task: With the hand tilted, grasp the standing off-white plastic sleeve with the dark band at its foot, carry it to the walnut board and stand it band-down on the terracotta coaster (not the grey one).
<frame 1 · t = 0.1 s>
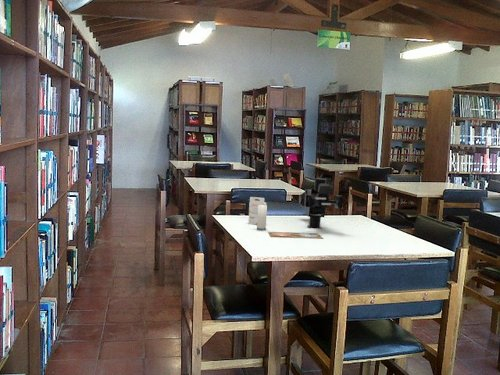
hand: (327, 203, 245), 17 cm above the table, tool horizontal, fingers open, 9 cm apart
terracotta coaster: (281, 234, 245), resting on walnut board
grey coaster: (308, 235, 246), resting on walnut board
walnut board: (294, 236, 245), on the table
ink cartridge box: (256, 224, 275), on the table
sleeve: (261, 231, 255), on the table
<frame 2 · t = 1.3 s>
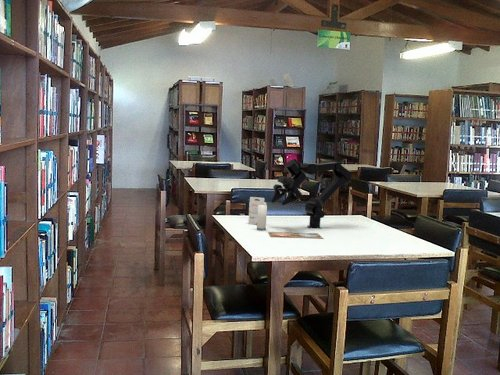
hand: (276, 203, 257), 14 cm above the table, tool tilted 45°, fingers open, 9 cm apart
nothing on the table moved.
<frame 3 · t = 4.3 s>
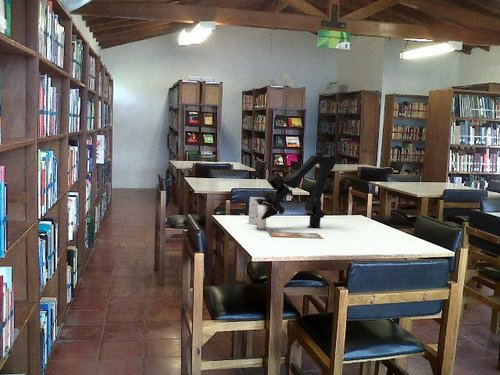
hand: (259, 218, 253), 7 cm above the table, tool tilted 45°, fingers closed on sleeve, 4 cm apart
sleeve: (261, 231, 255), on the table, touching gripper
everything else where it was.
when the fingers open (9 cm above the table, at t = 8.8 s): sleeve drops 1 cm, resting on terracotta coaster.
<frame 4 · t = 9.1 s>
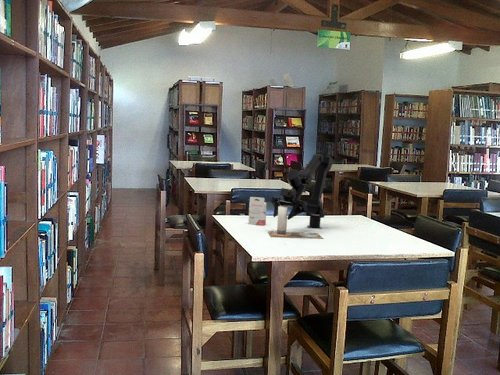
hand: (280, 217, 243), 9 cm above the table, tool tilted 45°, fingers open, 8 cm apart
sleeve: (281, 233, 245), point 1 cm above the table, touching terracotta coaster
everything else where it was.
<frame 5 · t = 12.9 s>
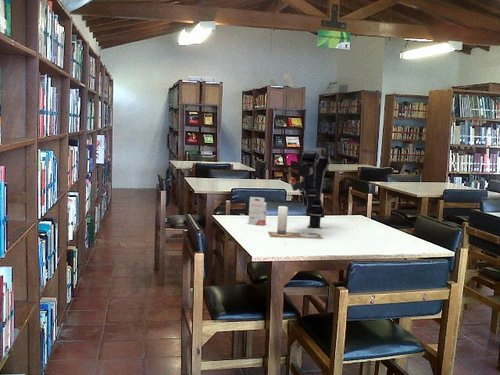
hand: (307, 207, 254), 13 cm above the table, tool pointing down, fingers open, 9 cm apart
nothing on the table moved.
at the end: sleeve 0.1 cm from the terracotta coaster (horizontally); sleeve tilted 0°; the gripper is holding nothing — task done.
